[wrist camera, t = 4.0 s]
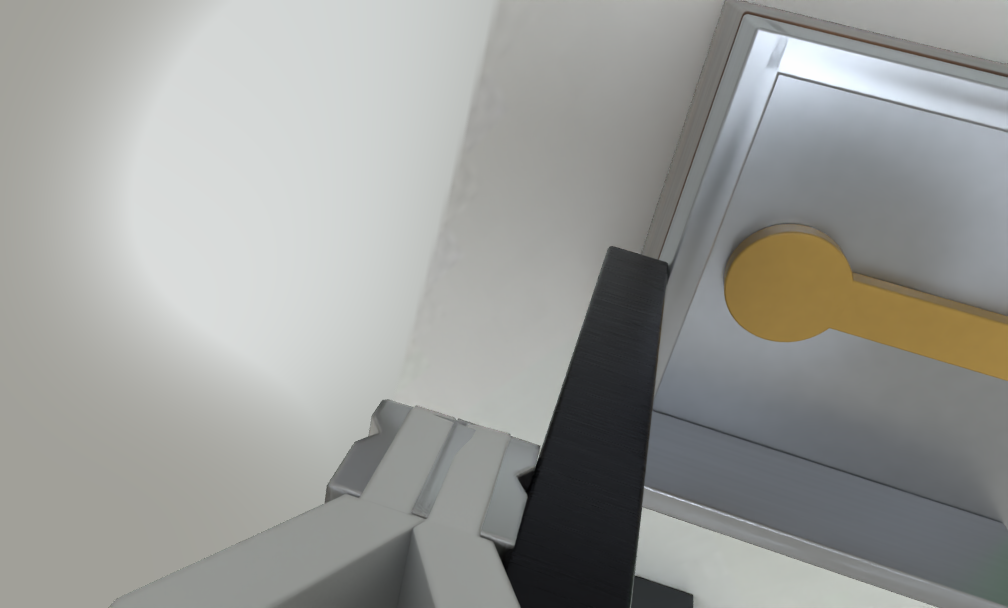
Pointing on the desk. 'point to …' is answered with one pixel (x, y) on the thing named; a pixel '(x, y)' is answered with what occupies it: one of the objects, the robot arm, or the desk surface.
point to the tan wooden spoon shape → (851, 302)
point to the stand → (713, 75)
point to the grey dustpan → (795, 344)
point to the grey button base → (658, 596)
